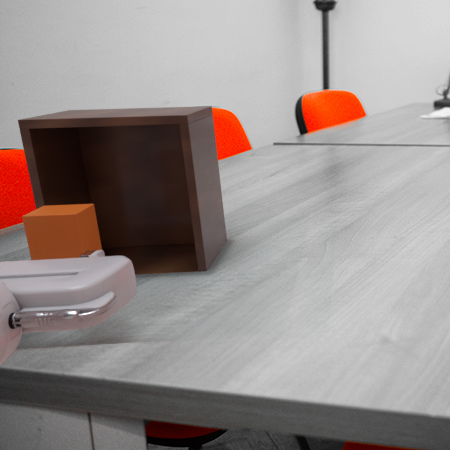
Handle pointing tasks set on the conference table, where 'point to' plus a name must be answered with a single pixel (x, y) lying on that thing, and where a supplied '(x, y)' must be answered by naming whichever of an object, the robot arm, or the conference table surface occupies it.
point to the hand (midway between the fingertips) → (44, 260)
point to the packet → (61, 231)
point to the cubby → (135, 180)
